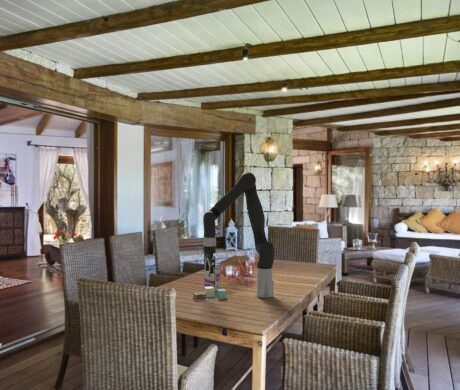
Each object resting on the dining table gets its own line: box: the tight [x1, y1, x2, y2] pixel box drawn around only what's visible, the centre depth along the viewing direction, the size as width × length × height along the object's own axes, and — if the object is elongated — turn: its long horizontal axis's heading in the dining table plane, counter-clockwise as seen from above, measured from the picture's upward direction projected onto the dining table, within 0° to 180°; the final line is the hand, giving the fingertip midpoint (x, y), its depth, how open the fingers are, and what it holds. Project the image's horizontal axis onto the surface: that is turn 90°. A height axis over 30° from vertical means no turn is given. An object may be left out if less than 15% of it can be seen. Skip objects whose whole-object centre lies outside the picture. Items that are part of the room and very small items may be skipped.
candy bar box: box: [203, 263, 222, 292], centre depth 254 cm, size 11×5×16 cm, turn 40°
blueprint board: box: [191, 292, 226, 302], centre depth 234 cm, size 18×13×1 cm
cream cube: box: [203, 286, 216, 297], centre depth 237 cm, size 5×5×5 cm
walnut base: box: [192, 291, 206, 300], centre depth 232 cm, size 6×6×3 cm
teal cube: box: [216, 288, 227, 300], centre depth 234 cm, size 4×4×4 cm
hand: (209, 272), depth 237 cm, fingers open, 8 cm apart
